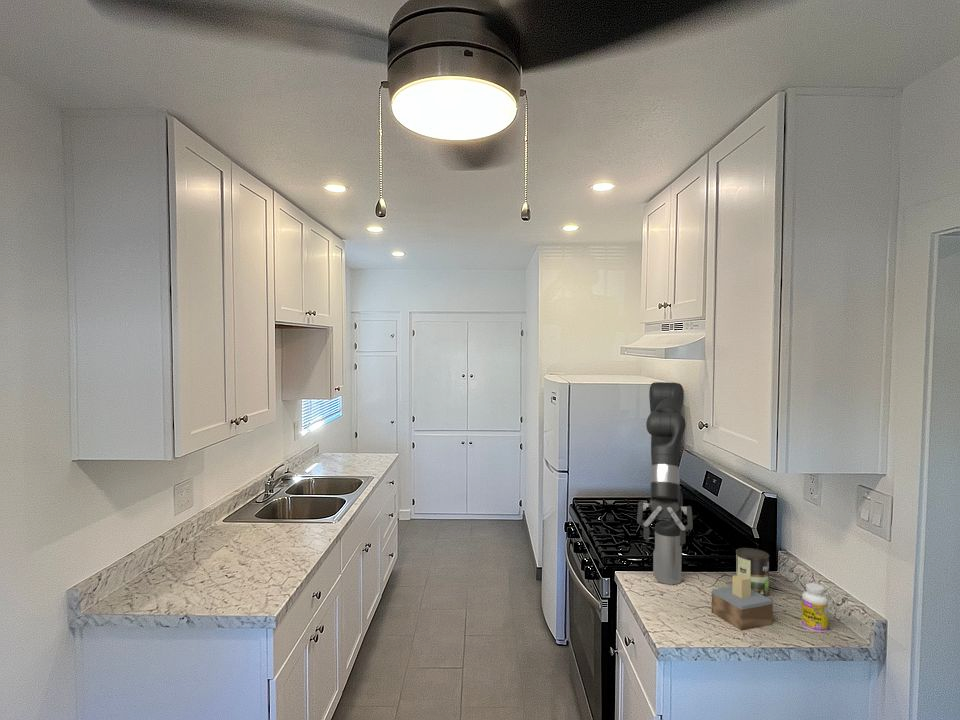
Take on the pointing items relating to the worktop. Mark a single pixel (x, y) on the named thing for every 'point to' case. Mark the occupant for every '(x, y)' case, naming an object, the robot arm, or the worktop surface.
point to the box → (742, 614)
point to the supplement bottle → (815, 608)
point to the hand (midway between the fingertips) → (664, 543)
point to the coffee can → (754, 568)
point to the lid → (742, 594)
